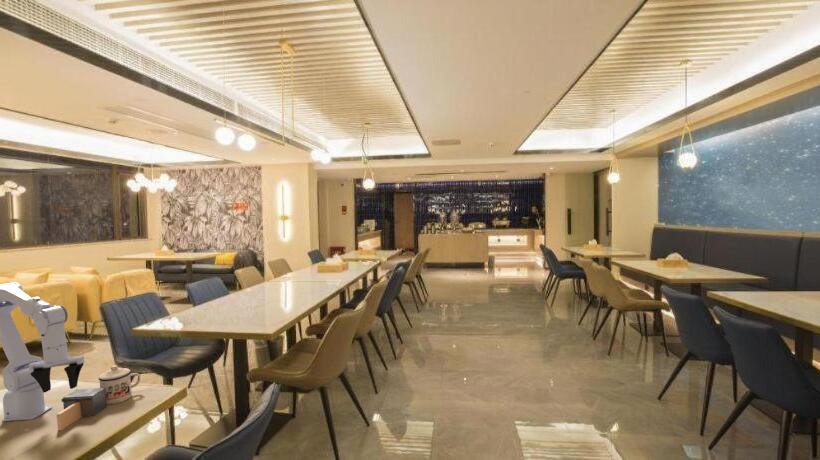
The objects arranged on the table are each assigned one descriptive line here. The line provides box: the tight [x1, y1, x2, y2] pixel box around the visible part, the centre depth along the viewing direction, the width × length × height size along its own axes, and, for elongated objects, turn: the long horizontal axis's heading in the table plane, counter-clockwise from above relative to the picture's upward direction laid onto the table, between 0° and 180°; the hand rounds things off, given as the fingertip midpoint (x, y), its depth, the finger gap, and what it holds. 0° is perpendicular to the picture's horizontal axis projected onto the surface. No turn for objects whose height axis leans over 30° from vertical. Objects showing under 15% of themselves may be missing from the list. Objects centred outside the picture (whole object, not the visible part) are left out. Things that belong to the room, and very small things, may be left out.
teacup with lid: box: [98, 364, 141, 406], centre depth 145 cm, size 12×9×12 cm
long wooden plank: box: [56, 401, 83, 432], centre depth 130 cm, size 1×12×5 cm, turn 4°
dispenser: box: [61, 387, 108, 418], centre depth 135 cm, size 9×7×7 cm
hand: (60, 389), depth 130 cm, fingers open, 7 cm apart
